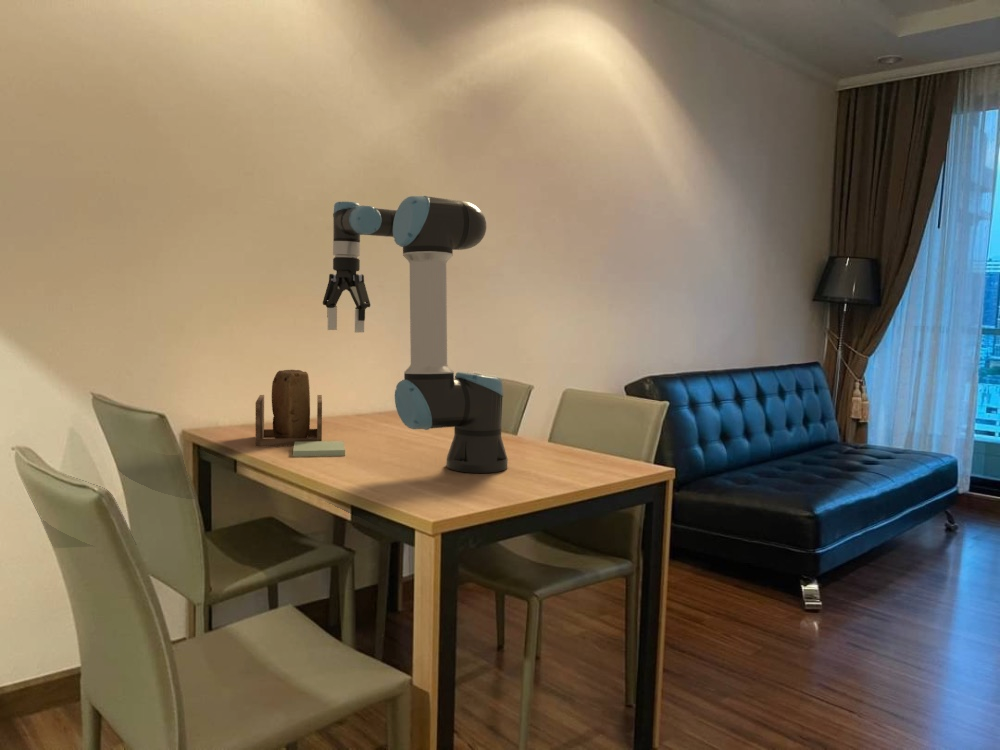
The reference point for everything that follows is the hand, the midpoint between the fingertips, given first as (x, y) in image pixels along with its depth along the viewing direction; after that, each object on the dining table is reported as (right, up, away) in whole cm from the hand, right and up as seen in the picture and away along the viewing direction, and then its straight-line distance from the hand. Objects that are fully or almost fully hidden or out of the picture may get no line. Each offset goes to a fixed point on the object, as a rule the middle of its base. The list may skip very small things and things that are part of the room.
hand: (345, 331), depth 225 cm
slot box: (-15, -31, -5) cm, 35 cm away
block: (-15, -32, -5) cm, 35 cm away
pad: (-3, -33, -19) cm, 38 cm away
